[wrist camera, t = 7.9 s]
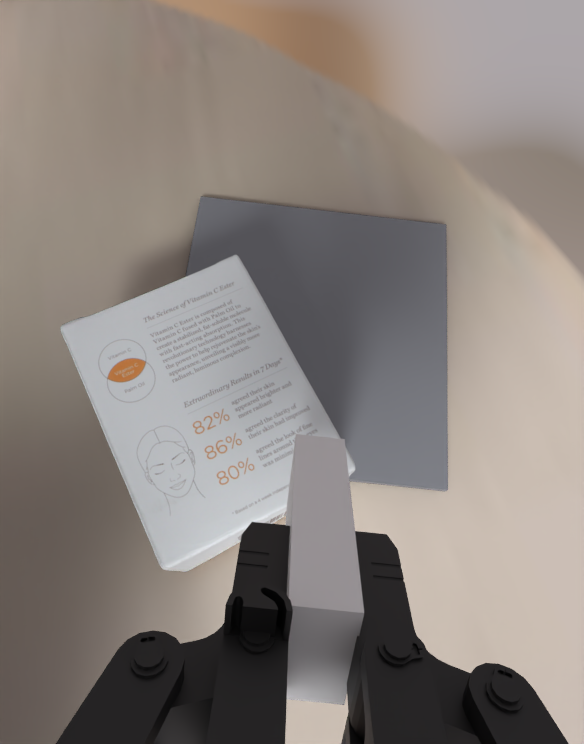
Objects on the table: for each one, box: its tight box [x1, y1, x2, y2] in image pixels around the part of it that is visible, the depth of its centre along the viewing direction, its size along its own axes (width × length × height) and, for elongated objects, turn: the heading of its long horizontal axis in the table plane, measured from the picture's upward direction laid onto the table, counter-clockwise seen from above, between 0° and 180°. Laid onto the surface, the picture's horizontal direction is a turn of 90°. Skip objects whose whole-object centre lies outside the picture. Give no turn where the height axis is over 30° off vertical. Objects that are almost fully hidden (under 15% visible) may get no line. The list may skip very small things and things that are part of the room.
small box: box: [60, 255, 355, 572], centre depth 24 cm, size 8×6×10 cm
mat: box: [186, 196, 448, 491], centre depth 29 cm, size 14×15×1 cm
